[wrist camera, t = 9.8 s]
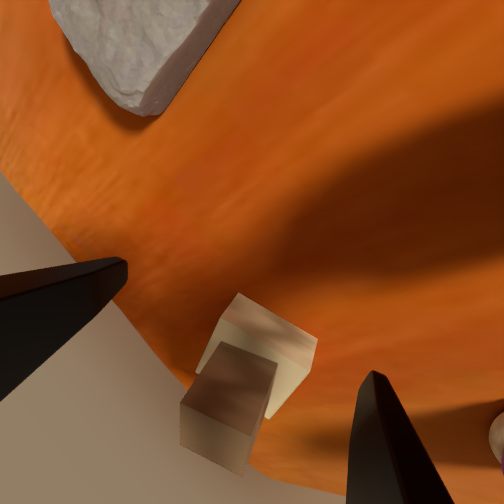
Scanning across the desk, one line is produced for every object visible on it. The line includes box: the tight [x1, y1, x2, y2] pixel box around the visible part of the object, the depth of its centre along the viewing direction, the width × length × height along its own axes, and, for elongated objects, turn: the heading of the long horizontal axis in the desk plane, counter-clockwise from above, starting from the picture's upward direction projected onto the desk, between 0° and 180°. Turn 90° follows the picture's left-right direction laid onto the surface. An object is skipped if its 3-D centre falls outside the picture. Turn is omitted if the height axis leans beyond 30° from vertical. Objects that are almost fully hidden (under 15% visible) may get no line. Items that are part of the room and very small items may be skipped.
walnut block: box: [180, 341, 278, 477], centre depth 21 cm, size 5×5×6 cm
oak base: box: [195, 292, 318, 419], centre depth 26 cm, size 8×8×4 cm
